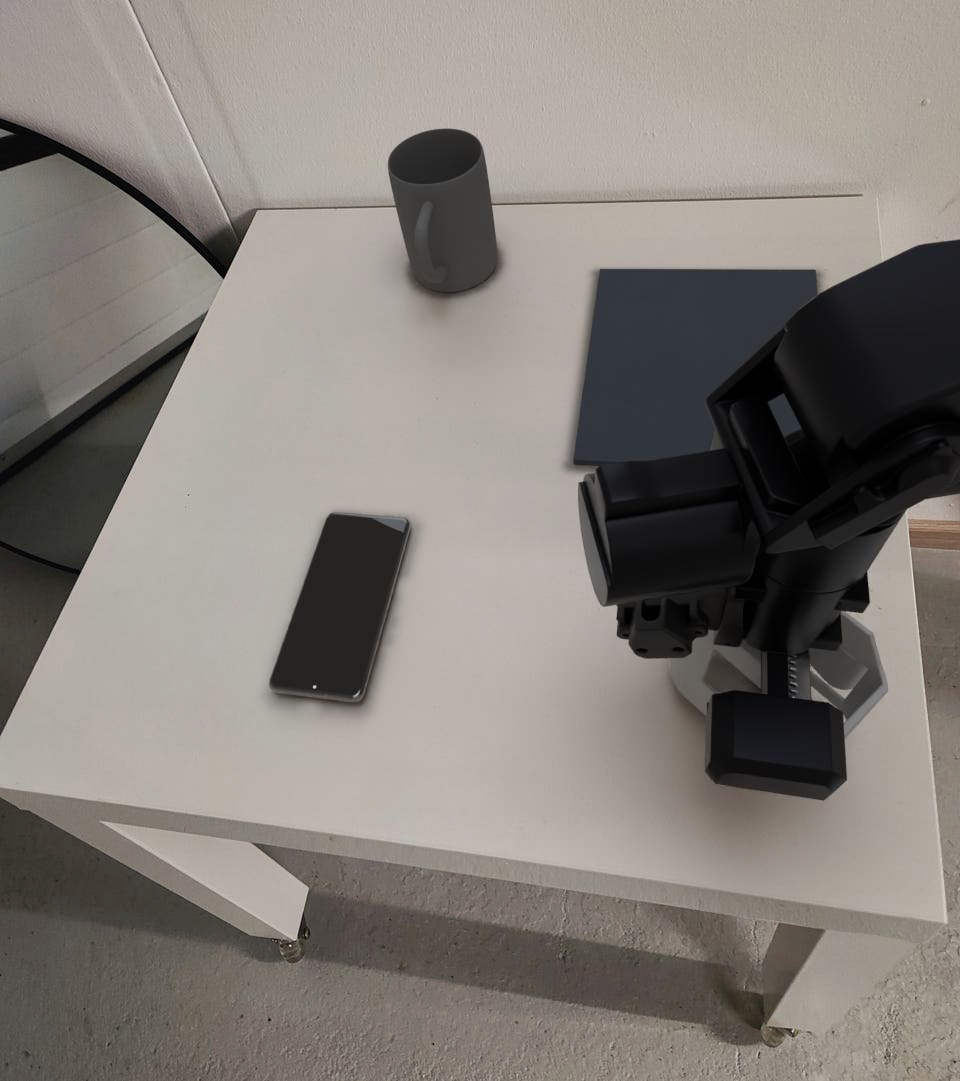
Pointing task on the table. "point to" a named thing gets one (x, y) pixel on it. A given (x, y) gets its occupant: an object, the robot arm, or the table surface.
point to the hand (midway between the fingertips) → (740, 675)
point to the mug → (444, 208)
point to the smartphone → (341, 608)
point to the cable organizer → (840, 669)
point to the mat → (676, 355)
